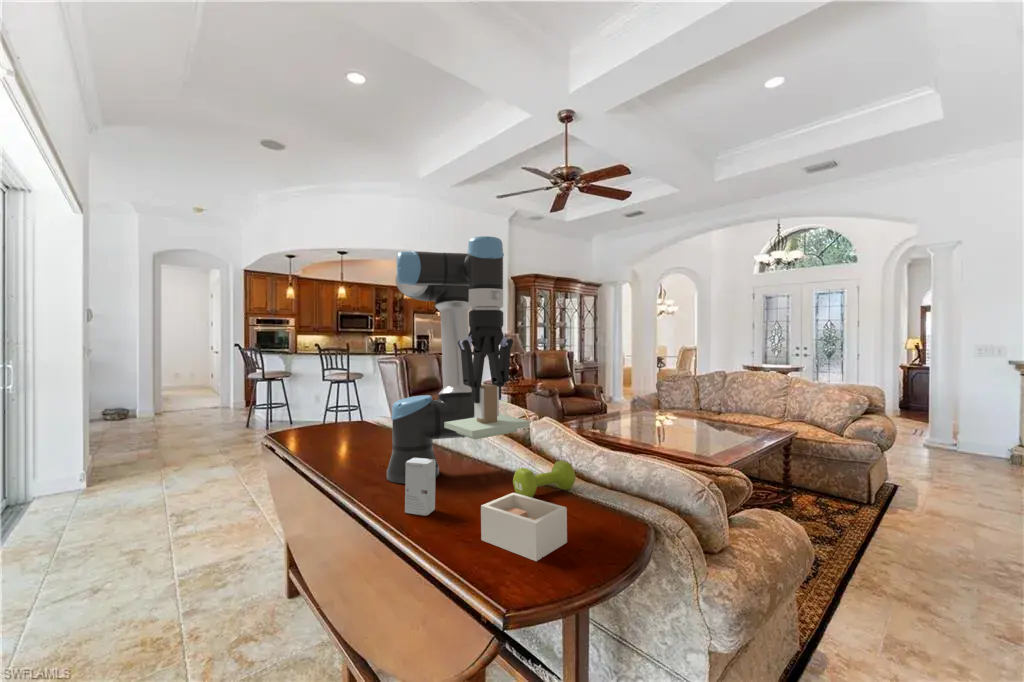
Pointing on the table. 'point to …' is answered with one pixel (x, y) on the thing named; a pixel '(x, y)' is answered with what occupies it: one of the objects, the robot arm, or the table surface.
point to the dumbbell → (544, 479)
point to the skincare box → (420, 486)
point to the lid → (487, 419)
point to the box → (524, 525)
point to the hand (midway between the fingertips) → (486, 416)
